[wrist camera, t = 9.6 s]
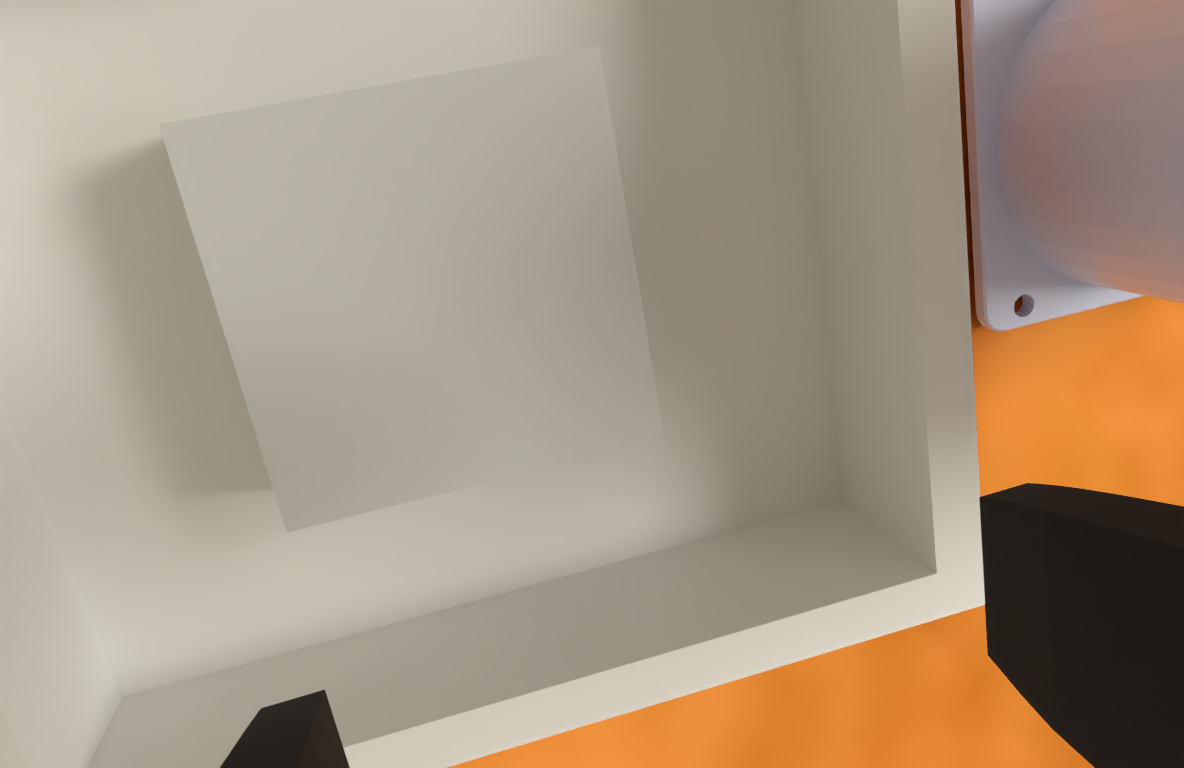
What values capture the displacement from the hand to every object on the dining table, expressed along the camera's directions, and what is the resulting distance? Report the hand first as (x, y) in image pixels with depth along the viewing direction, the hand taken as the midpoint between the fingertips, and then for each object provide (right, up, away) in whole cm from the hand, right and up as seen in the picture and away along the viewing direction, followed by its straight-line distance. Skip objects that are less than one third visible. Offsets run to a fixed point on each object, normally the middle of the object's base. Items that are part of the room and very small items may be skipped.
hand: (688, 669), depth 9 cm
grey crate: (-4, +5, +9) cm, 11 cm away
